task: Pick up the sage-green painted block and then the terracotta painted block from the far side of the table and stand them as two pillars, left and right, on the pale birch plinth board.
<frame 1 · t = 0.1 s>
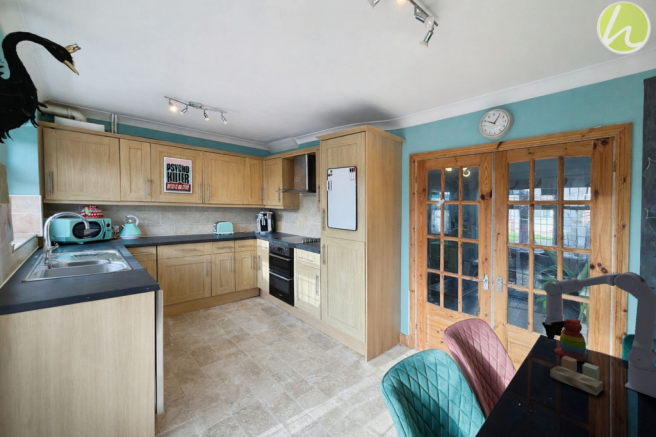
hand: (554, 337, 128), 10 cm above the table, fingers open, 7 cm apart
terracotta block: (568, 370, 118), on the table
stacking bear: (571, 356, 131), on the table
birch board: (575, 383, 109), on the table
sage block: (590, 378, 112), on the table
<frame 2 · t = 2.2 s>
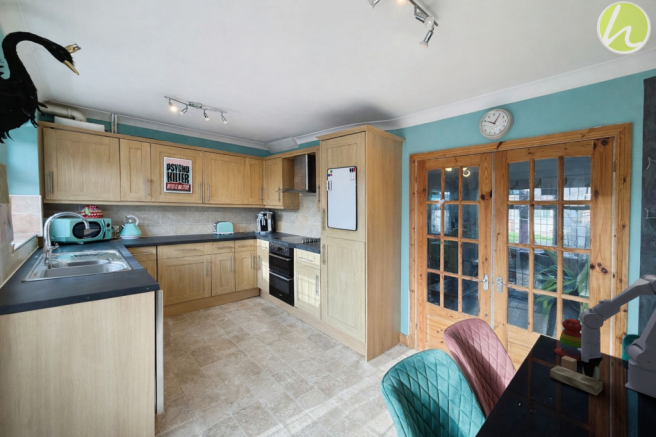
hand: (590, 374, 112), 1 cm above the table, fingers closed on sage block, 4 cm apart
sage block: (590, 378, 112), on the table, touching gripper
everything else where it was.
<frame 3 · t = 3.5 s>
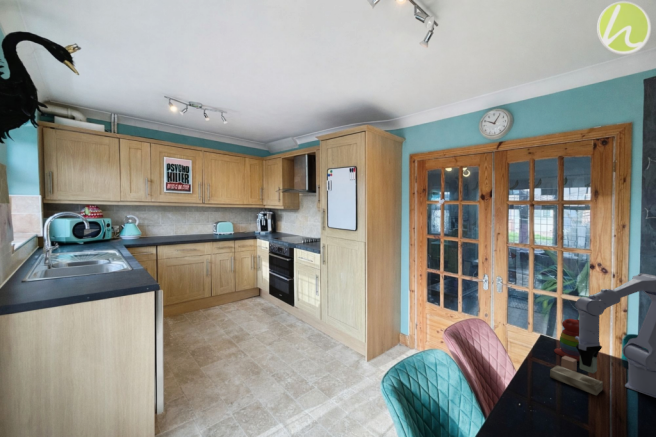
hand: (588, 364, 107), 9 cm above the table, fingers closed on sage block, 4 cm apart
sage block: (588, 369, 107), point 6 cm above the table, touching gripper
everything else where it was.
when the fingers open (5 cm above the table, at t = 4.6 s): sage block stays where it is, resting on birch board.
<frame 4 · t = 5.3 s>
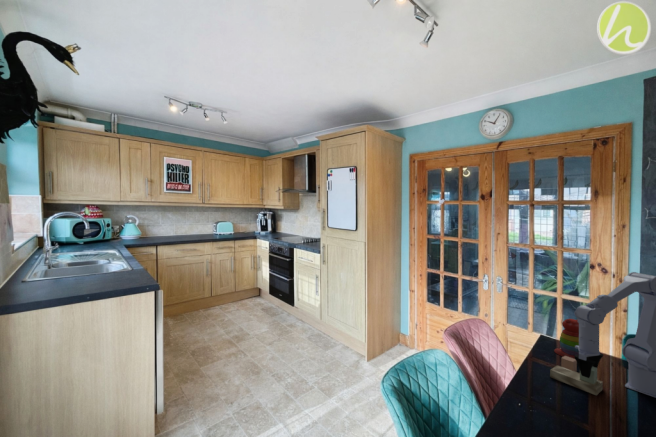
hand: (588, 373, 105), 6 cm above the table, fingers open, 7 cm apart
sage block: (588, 380, 106), point 3 cm above the table, touching birch board
everything else where it was.
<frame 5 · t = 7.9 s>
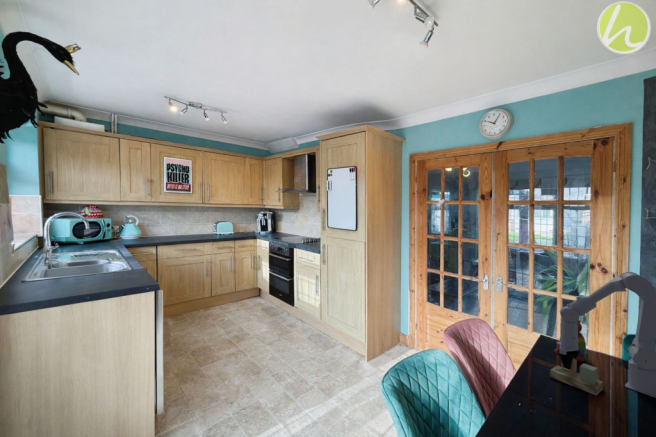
hand: (568, 366, 118), 1 cm above the table, fingers closed on terracotta block, 4 cm apart
terracotta block: (568, 370, 118), on the table, touching gripper
everything else where it was.
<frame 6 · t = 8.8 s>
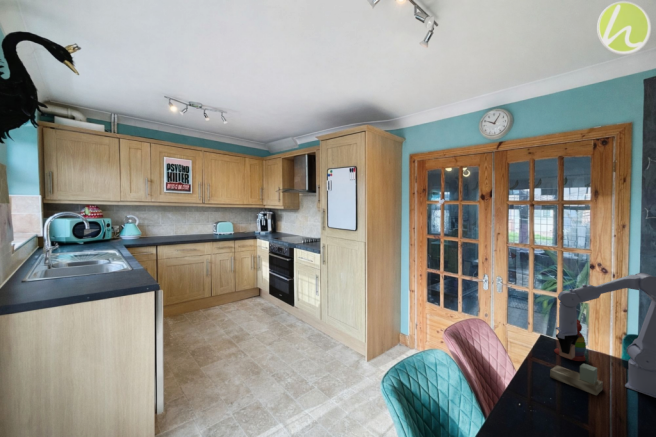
hand: (567, 351, 117), 8 cm above the table, fingers closed on terracotta block, 4 cm apart
terracotta block: (567, 356, 117), point 7 cm above the table, touching gripper
everything else where it was.
when the fingers open (5 cm above the table, at t = 10.1 s): terracotta block stays where it is, resting on birch board.
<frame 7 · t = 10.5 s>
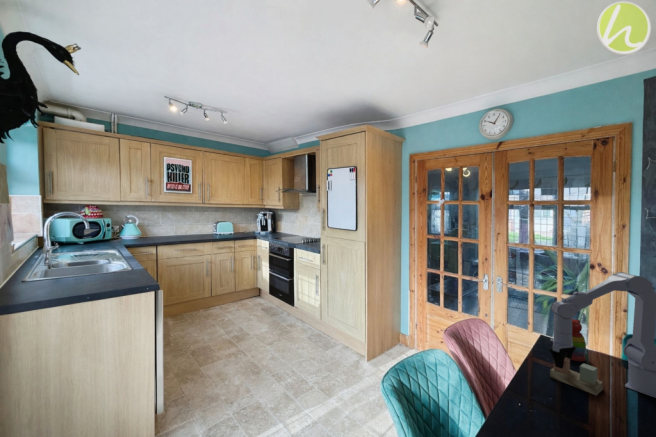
hand: (562, 364, 112), 5 cm above the table, fingers open, 7 cm apart
terracotta block: (561, 370, 112), point 3 cm above the table, touching birch board
everything else where it was.
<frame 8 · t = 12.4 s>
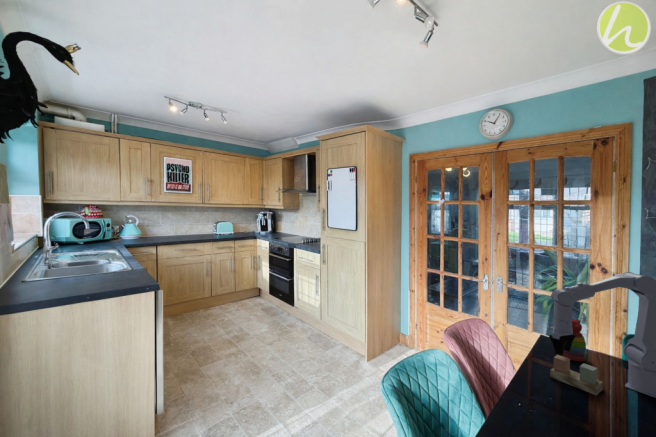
hand: (562, 352, 112), 10 cm above the table, fingers open, 7 cm apart
nothing on the table moved.
at the end: sage block 0.1 cm from the target spot on the birch board, point 3.1 cm above the birch board's base; terracotta block 0.3 cm from the target spot on the birch board, point 3.1 cm above the birch board's base; terracotta block tilted 0° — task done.
